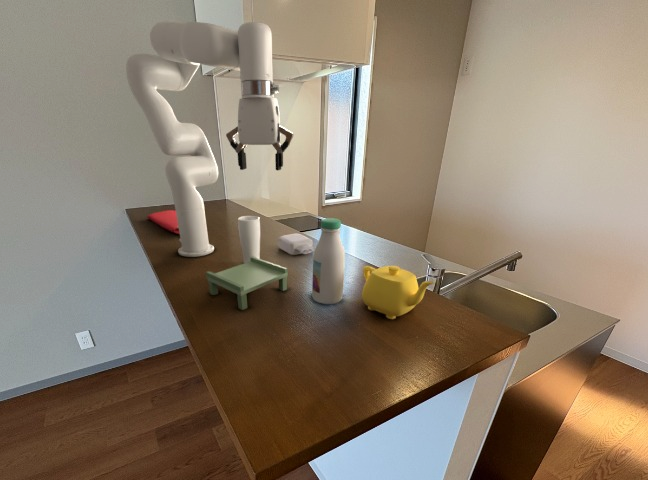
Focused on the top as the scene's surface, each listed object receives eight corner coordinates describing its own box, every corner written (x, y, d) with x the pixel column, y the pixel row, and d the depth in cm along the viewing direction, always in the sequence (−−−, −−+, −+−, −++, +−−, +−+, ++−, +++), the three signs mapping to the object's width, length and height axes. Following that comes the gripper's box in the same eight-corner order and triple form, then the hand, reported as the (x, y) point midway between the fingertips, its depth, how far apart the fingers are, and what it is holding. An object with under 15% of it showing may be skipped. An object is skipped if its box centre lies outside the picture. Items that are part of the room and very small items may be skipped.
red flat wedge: (177, 214, 171) (176, 207, 169) (208, 230, 141) (207, 222, 140) (147, 219, 163) (145, 211, 161) (173, 237, 133) (171, 228, 132)
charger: (299, 261, 106) (278, 248, 117) (322, 256, 110) (299, 244, 121) (299, 247, 104) (277, 236, 115) (322, 242, 108) (299, 232, 119)
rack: (208, 293, 85) (205, 272, 82) (254, 276, 95) (252, 256, 92) (242, 310, 76) (240, 287, 73) (288, 289, 87) (287, 268, 84)
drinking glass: (258, 268, 100) (256, 221, 93) (238, 267, 102) (234, 220, 95) (264, 261, 106) (262, 215, 99) (245, 260, 108) (241, 215, 101)
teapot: (438, 316, 73) (448, 273, 68) (411, 334, 66) (420, 287, 62) (373, 290, 85) (378, 252, 80) (346, 303, 79) (349, 262, 74)
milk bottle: (344, 293, 84) (350, 217, 75) (339, 306, 77) (344, 225, 68) (316, 289, 86) (318, 215, 77) (308, 302, 80) (310, 222, 70)
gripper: (296, 92, 77) (296, 168, 85) (229, 94, 80) (235, 167, 88) (289, 88, 70) (289, 171, 78) (216, 91, 74) (224, 170, 82)
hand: (260, 169), depth 83 cm, fingers open, 9 cm apart
